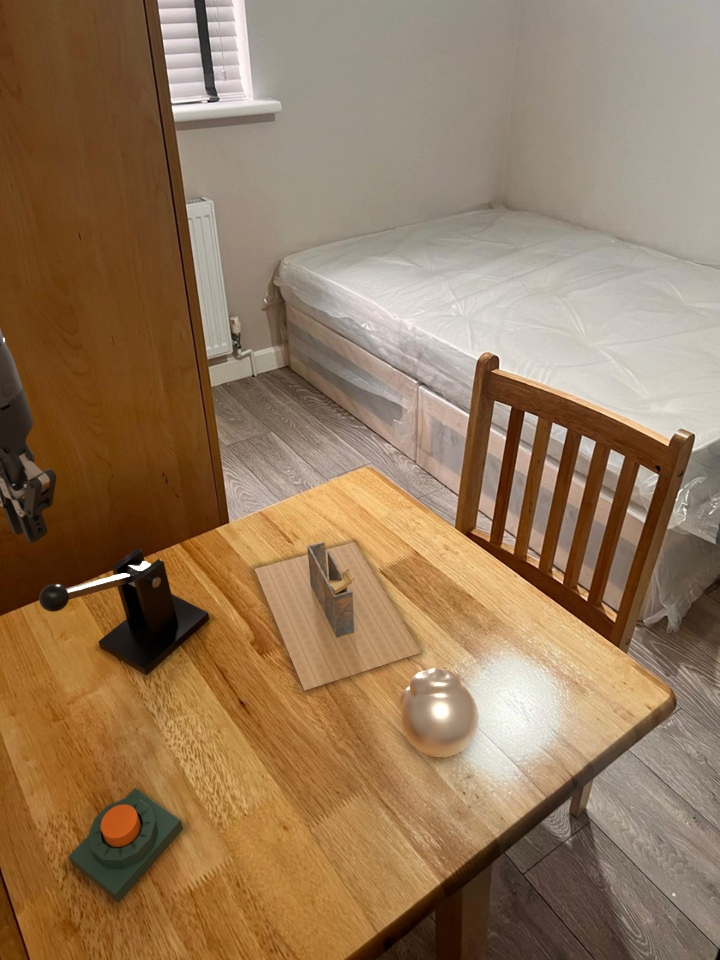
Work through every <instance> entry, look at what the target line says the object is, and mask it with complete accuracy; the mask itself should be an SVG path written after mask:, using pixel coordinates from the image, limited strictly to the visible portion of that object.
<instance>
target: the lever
mask: <svg viewBox="0 0 720 960" xmlns="http://www.w3.org/2000/svg"><path fill="white" fill-rule="evenodd" d="M151 564H152V563H149V562H147V561H146V560H145V561H142V562H138V563H134V564H130V565H128V567H127V573H123V574H119V575H115V576H114V575H112V576H107V577H104V578H99V579H97V580H92V581H89V582H85V583H82V584H76V585H73V586H70V587H65V586H64V585H62V584H60V583H50V584H47V585H46V586H44V587H43V588H42V589H41V591H40V592H39V596H38V602H39V604H40V606H41V607H42V609H44V610H45V611H47V612H51V613H55V612H60V611H62V610H63V609H64V608H65V607H66V606H67V605H68V603H69V601H71V600H73V599H78V598H81V597H84V596H87V595H91V594H95V593H99V592H102V591H106V590H109V589H113V588H118V587H117V586H120V585H124V584H127V583H128V584H130V585H132V586H134V587H136V586H135V583H134V579H133V578H134V577H135V576H137V575H138V574H139V573H141V572H142V571H143V570H144V569H146V568H147V567H148V566H150V565H151Z"/></svg>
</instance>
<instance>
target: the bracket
mask: <svg viewBox="0 0 720 960" xmlns="http://www.w3.org/2000/svg"><path fill="white" fill-rule="evenodd" d="M142 561H145V562H146V560H145V556H144V552H143V550H142V549H139V547H137V548H135V549H134V550H132V551H131V552H130V553H129V554H127V555H126V556H124V557H123V558H122V559H120V560H119V561H118V562H116V563H115V564H113V565H111V569H112V574H113V576H115V575H119V574H123V573H127V567H128V565H130V564H134V563H138V562H142ZM150 564H151V565H150V566H148V567H147V568H146V569H144V570H143V571H142V572H141V573H139V574H138V575H137V576H135V577H134V578H133V579H134V583H135V586H136V587H134V586H132V585H130V584H128V583H127V584H124V585H120V586H117V587H116V588H117V591H118V594H119V597H120V600H121V604H122V608H123V611H124V614H125V618H126V619H124V620H123V621H122V622H121V623H119V624H118V625H117V626H115V627H114V628H113V629H111V630H110V631H109V632H108V633H107V634H106V635H104V636H103V637H102V638H100V639H99V640H98V641H97V643H98V645H99V648H100V649H101V650H103V651H104V652H106V653H108V654H110V655H111V656H113V657H115V658H116V659H118V660H120V661H122V662H123V663H125V664H126V665H128V666H130V667H131V668H133V669H134V670H136V671H138V672H139V673H141V674H143V675H145V677H146V676H148V675H149V674H150V673H151V672H152V671H154V670H155V669H156V668H157V667H158V666H159V665H161V663H162V662H164V661H165V660H166V659H167V658H168V657H169V656H170V655H171V654H172V653H173V652H175V651H176V650H177V649H178V648H179V647H180V646H181V645H182V644H184V643H185V642H186V641H187V640H188V639H189V638H190V637H191V636H192V635H193V634H194V633H196V632H197V631H199V629H201V628H202V627H203V626H204V625H205V624H206V623H207V622H209V620H210V615H209V612H207V611H206V610H205V609H202V608H200V607H198V606H196V605H195V604H193V603H190V602H188V601H186V600H185V599H182V598H180V597H178V596H177V595H175V594H173V593H172V591H171V586H170V583H169V578H168V573H167V569H166V565H165V561H164V560H162V559H160V558H157V559H156V560H155V561H153V562H152V563H150Z"/></svg>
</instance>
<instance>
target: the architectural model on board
mask: <svg viewBox="0 0 720 960" xmlns="http://www.w3.org/2000/svg"><path fill="white" fill-rule="evenodd" d="M306 549H307V554H305V555H302V556H298V557H294V558H290V559H287V560H286V559H285V560H283V561H279V562H275V563H272V564H268V565H265V566H260V567H258V568H254V571H255V572H254V573H255V574H256V576H257V579H258V582H259V584H260V586H261V588H262V591H263V593H264V597H265V599H266V601H267V603H268V606H269V608H270V611H271V613H272V615H273V618H274V620H275V623H276V625H277V628H278V630H279V633H280V635H281V637H282V640H283V642H284V645H285V647H286V650H287V652H288V654H289V657H290V659H291V661H292V664H293V667H294V669H295V672H296V674H297V676H298V679H299V681H300V683H301V686H302V688H303V691H308V690H311V689H314V688H317V687H320V686H323V685H326V684H329V683H332V682H336V681H338V680H341V679H345V678H347V677H350V676H355V675H357V674H360V673H363V672H366V671H369V670H372V669H375V668H378V667H381V666H385V665H387V664H391V663H394V662H397V661H399V660H403V659H406V658H409V657H412V656H415V655H418V654H421V653H422V652H421V650H420V648H419V646H418V645H417V643H416V642H415V640H414V638H413V637H412V636H411V634H410V632H409V629H407V627H406V625H405V624H404V622H403V620H402V619H401V617H400V616H399V614H398V612H397V610H396V609H395V607H394V606H393V604H392V602H391V601H390V599H389V598H388V596H387V594H386V592H385V591H384V588H383V587H382V585H381V584H380V582H379V581H378V579H377V578H376V576H375V574H374V572H373V571H372V569H371V568H370V566H369V565H368V562H367V561H366V559H365V557H364V556H363V555H362V553H361V552H360V551H361V550H359V548H358V546H357V545H356V543H355V542H354V541H353V542H350V543H346V544H343V545H338V546H335V547H330V548H328V549H326V541H325V540H324V541H321V542H316V543H313V544H312V543H311V544H308V545H307V546H306Z"/></svg>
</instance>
